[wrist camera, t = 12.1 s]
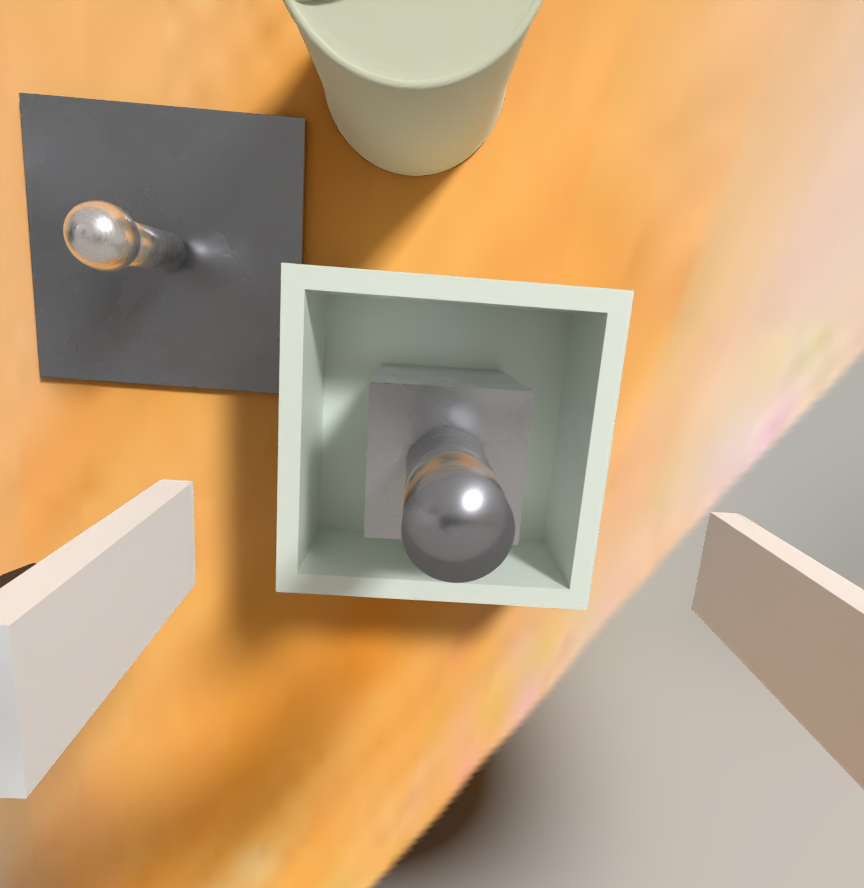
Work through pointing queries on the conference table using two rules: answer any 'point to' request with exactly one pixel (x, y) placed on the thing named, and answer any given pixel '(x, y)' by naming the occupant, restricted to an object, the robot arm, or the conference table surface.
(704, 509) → the conference table surface
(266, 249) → the stud plate
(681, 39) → the conference table surface
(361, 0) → the can
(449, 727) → the conference table surface
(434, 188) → the conference table surface
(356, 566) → the bin
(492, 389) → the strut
